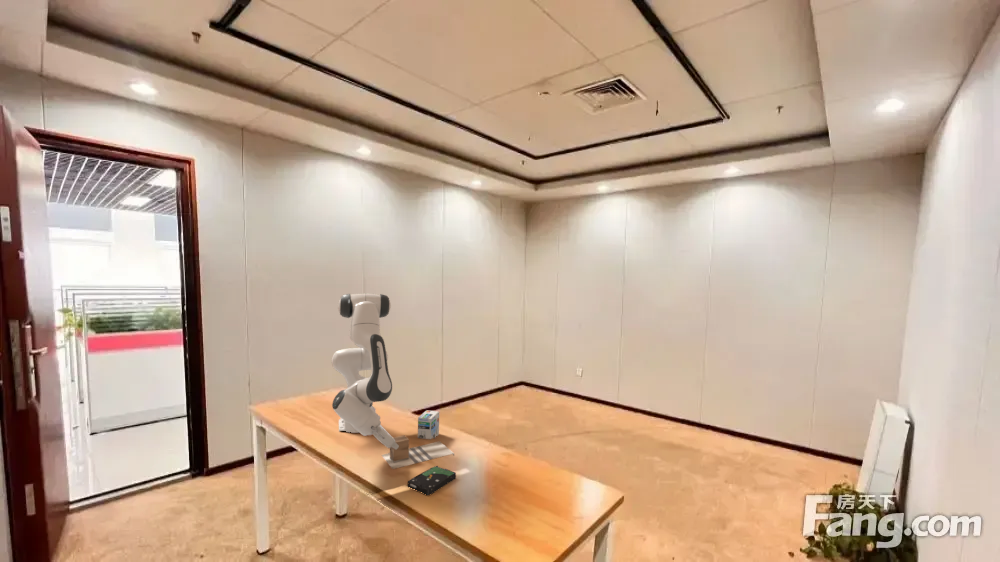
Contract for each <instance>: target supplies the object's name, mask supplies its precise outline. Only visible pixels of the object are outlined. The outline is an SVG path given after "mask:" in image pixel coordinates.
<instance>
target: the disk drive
mask: <svg viewBox="0 0 1000 562" xmlns="http://www.w3.org/2000/svg"><path fill="white" fill-rule="evenodd" d="M456 478H457V472H456V471H452V470H450V469H447V468H443V467H440V466H438V465H435V466H433V467H430V468H429V469H427V470H424V471H423V472H421V473H420V474H417V475H416V476H414V477H412V478H411V479H409V480H407V488H409V487H410V488H409V489H411V488H412V490H413V489H415V490H417V491H416V492H418V491H420V492H422V493H424V494H423V495H425V494H426V495H425V496H427V495H429V496H431V495H432V494H434V493H435V492H437V491H438V489H439V490H440V489H442V488H443V487H445V486H446V485H448V484H450V483H451V482H453V481H454V480H456ZM441 487H442V488H441ZM415 490H414V491H415ZM420 492H419V493H420ZM422 493H421V494H422ZM430 494H431V495H430Z"/></svg>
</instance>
